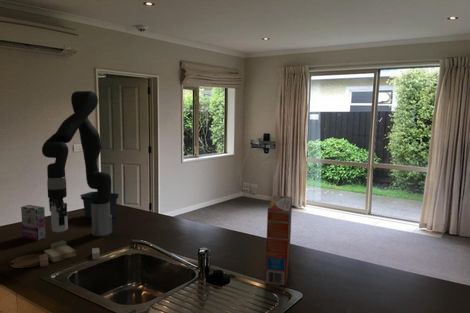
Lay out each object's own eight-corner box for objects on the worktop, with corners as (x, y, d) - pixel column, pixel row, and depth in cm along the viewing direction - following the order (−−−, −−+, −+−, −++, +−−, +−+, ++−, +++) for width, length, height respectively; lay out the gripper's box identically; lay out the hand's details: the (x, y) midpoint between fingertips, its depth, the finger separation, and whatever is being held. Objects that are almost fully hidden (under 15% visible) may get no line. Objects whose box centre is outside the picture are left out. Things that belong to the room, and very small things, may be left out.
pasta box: (285, 286, 140) (289, 211, 136) (265, 283, 142) (267, 209, 138) (289, 261, 163) (292, 196, 158) (271, 260, 164) (273, 195, 160)
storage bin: (78, 218, 218) (77, 195, 216) (96, 211, 233) (95, 189, 231) (107, 222, 211) (106, 198, 209) (123, 215, 226) (123, 193, 224)
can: (61, 233, 159) (60, 206, 157) (48, 231, 160) (47, 205, 159) (70, 228, 165) (69, 202, 164) (58, 227, 167) (57, 201, 165)
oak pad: (66, 249, 171) (66, 244, 171) (76, 255, 164) (75, 250, 164) (44, 255, 164) (44, 250, 163) (53, 262, 157) (52, 257, 157)
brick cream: (92, 259, 161) (99, 258, 162) (92, 253, 161) (99, 252, 162) (92, 254, 167) (99, 253, 168) (92, 248, 166) (99, 247, 167)
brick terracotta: (39, 261, 158) (39, 255, 158) (47, 260, 160) (46, 253, 159) (40, 267, 153) (40, 260, 153) (48, 265, 155) (48, 258, 154)
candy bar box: (46, 237, 186) (45, 206, 184) (38, 241, 181) (36, 209, 179) (31, 234, 190) (29, 204, 188) (22, 237, 185) (20, 206, 183)
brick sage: (62, 246, 176) (62, 240, 175) (66, 247, 174) (66, 241, 174) (51, 250, 170) (50, 244, 170) (55, 251, 169) (54, 245, 169)
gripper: (72, 188, 158) (74, 225, 160) (59, 183, 167) (60, 218, 170) (54, 191, 152) (56, 229, 155) (41, 185, 162) (43, 221, 164)
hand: (58, 223), depth 162 cm, fingers closed on can, 6 cm apart
